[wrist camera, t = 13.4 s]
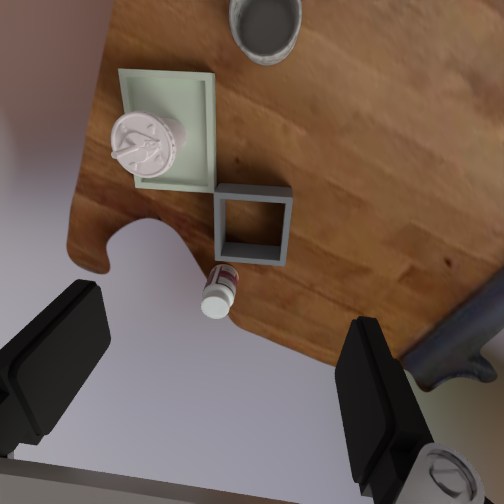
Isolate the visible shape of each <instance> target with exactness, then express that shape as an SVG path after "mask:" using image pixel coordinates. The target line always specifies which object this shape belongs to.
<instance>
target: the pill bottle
mask: <svg viewBox="0 0 504 504" xmlns="http://www.w3.org/2000/svg"><path fill="white" fill-rule="evenodd" d="M237 283H238V273H237V271H236V270H235V269H234V268H233V267H232V266H230V265H227V264H220V265H217V266H215V267H214V268H213V269H212V270H211V272H210V275H209V277H208V280H207V283H206V286H205V288H204V290H203V295H202V298H203V299H202V303H201V309H202V311H203V313H204V314H205V315H206V316H208V317H210V318H215V319H219V318H223V317H224V316H226V315H227V313H228V312H229V308H230V306H231V305H232V304H233V301H234V297H235V292H236V288H237Z"/></svg>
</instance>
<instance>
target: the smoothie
mask: <svg viewBox="0 0 504 504" xmlns="http://www.w3.org/2000/svg"><path fill="white" fill-rule="evenodd" d="M186 140H187V133H186V130H185V128H184V126H183V125H182V124H181V123H180V122H179V121H177V120H175V119H169V118H163V117H157V116H156V115H154V114H152V113H149V112H146V111H133V112H130V113H126V114H124V115H122V116H121V117H120V118H119V119H118V120H117V121H116V122H115V124H114V126H113V128H112V132H111V145H112V149H113V152H112V154H111V155H112V157H113V158H115V159H116V158H117V160H118V161H119V163H120V164H121V165H122V166H123V167H124V168H125V169H126V170H127V171H129V172H130V173H132V174H134V175H136V176H139V177H144V178H152V177H156V176H158V175H161V174H163V173H164V172H166V171H167V170H168V169H169V168H170V167H171V166H172V164H173V161H174V159H175V156H176V155H177V153H178V152H179V151H180V150H181V148H182V147H183V146H184V145H185V143H186Z"/></svg>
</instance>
